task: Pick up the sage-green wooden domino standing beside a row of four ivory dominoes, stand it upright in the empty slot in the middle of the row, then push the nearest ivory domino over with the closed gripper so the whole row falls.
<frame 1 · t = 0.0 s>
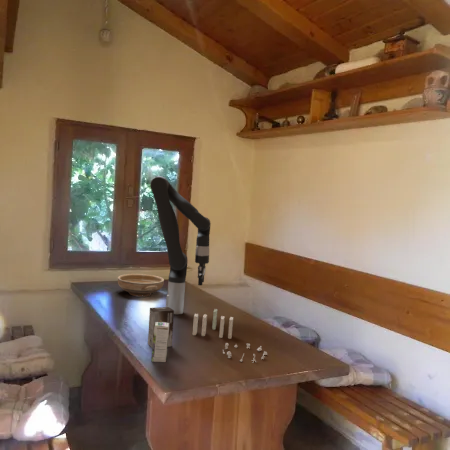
hand: (201, 283, 262), 17 cm above the table, tool pointing down, fingers open, 8 cm apart
game piece set: (244, 355, 206), on the table
coffee box: (159, 345, 209), on the table
ceramic bowl: (140, 294, 300), on the table
domino 5: (229, 336, 228), on the table
domino 4: (221, 336, 229), on the table
syrup box: (159, 360, 192), on the table
domino 1: (194, 333, 229), on the table
domino 2: (203, 334, 229), on the table
domino 3: (214, 328, 241), on the table
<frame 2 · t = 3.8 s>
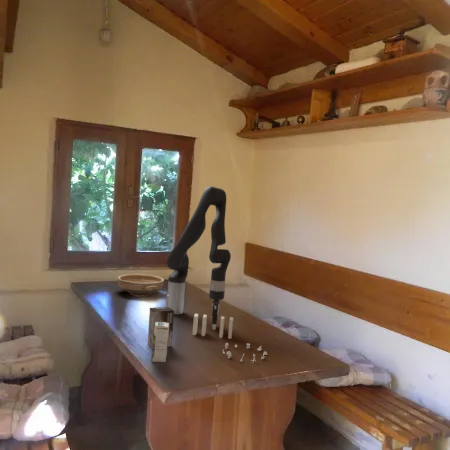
hand: (214, 322, 240), 3 cm above the table, tool pointing down, fingers closed on domino 3, 5 cm apart
domino 3: (214, 328, 241), on the table, touching gripper
everything else where it was.
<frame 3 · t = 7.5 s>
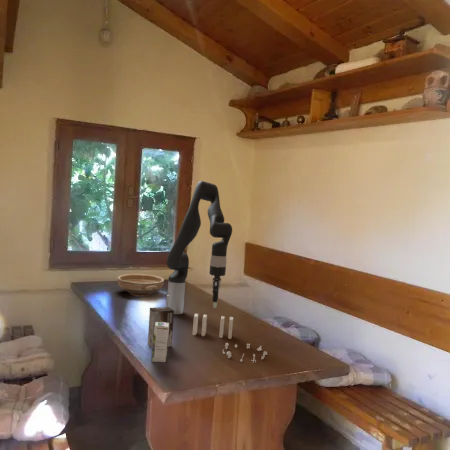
hand: (215, 300, 228), 17 cm above the table, tool pointing down, fingers closed on domino 3, 5 cm apart
domino 3: (214, 306, 228), point 14 cm above the table, touching gripper
everything else where it was.
when the fingers open (4 cm above the table, at t = 11.1 s): domino 3 stays where it is, on the table.
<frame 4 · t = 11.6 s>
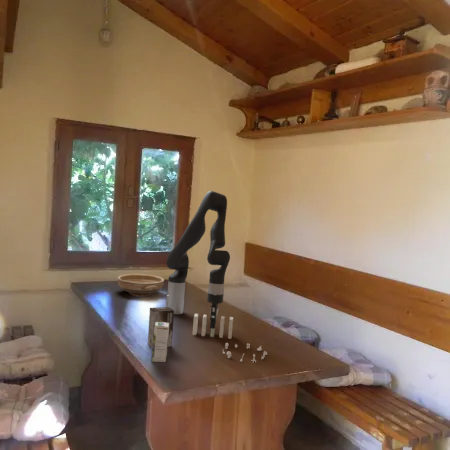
hand: (213, 325, 228), 5 cm above the table, tool pointing down, fingers open, 8 cm apart
domino 3: (212, 335, 229), on the table
everything else where it was.
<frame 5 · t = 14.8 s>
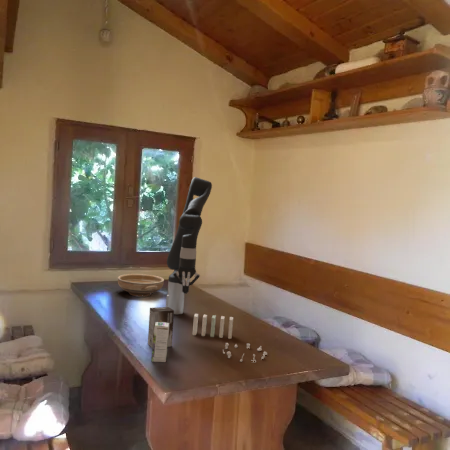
hand: (185, 293, 228), 19 cm above the table, tool pointing down, fingers closed
nothing on the table moved.
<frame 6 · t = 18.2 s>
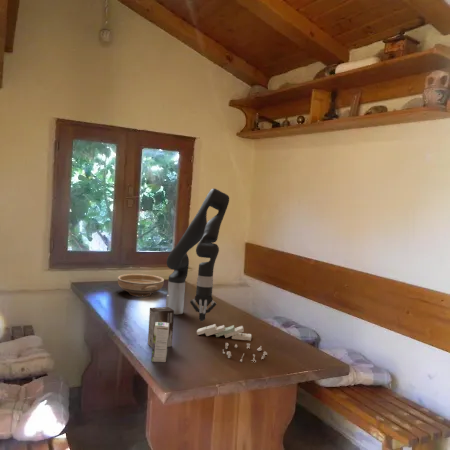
hand: (201, 320, 228), 7 cm above the table, tool pointing down, fingers closed
domino 5: (232, 335, 228), point 1 cm above the table, tilted 90°, touching domino 4
domino 4: (225, 334, 228), point 1 cm above the table, tilted 65°, touching domino 5
domino 1: (197, 332, 229), point 1 cm above the table, tilted 67°, touching domino 2
domino 2: (206, 333, 229), point 1 cm above the table, tilted 68°, touching domino 1
domino 3: (216, 334, 229), point 1 cm above the table, tilted 65°
everything else where it was.
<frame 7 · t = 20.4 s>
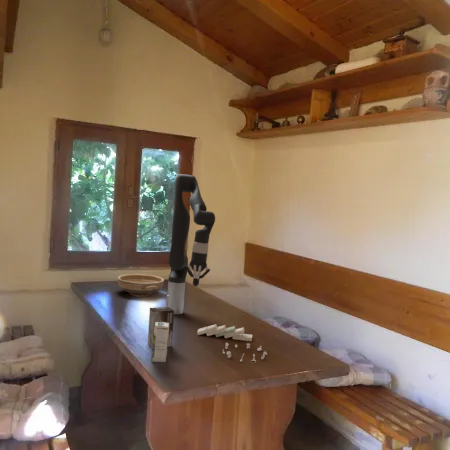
hand: (195, 285, 238), 21 cm above the table, tool pointing down, fingers closed
domino 5: (233, 336, 228), point 1 cm above the table, tilted 89°
domino 4: (225, 335, 228), point 1 cm above the table, tilted 68°, touching domino 3
domino 2: (207, 333, 229), point 1 cm above the table, tilted 67°, touching domino 1, domino 3
domino 3: (216, 334, 229), point 1 cm above the table, tilted 67°, touching domino 2, domino 4
everything else where it was.
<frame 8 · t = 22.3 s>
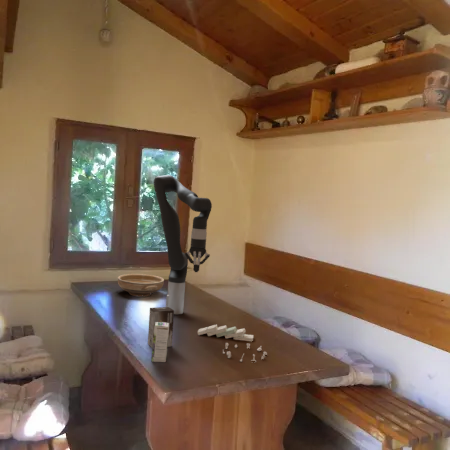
hand: (196, 272, 241), 27 cm above the table, tool pointing down, fingers closed
domino 5: (234, 336, 228), point 1 cm above the table, tilted 89°, touching domino 4
domino 4: (226, 335, 228), point 1 cm above the table, tilted 70°, touching domino 3, domino 5
at the end: domino 5 tilted 89°; domino 3 inside the target area (1.7 cm from its centre), point 0.8 cm above the table; the gripper is holding nothing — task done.
